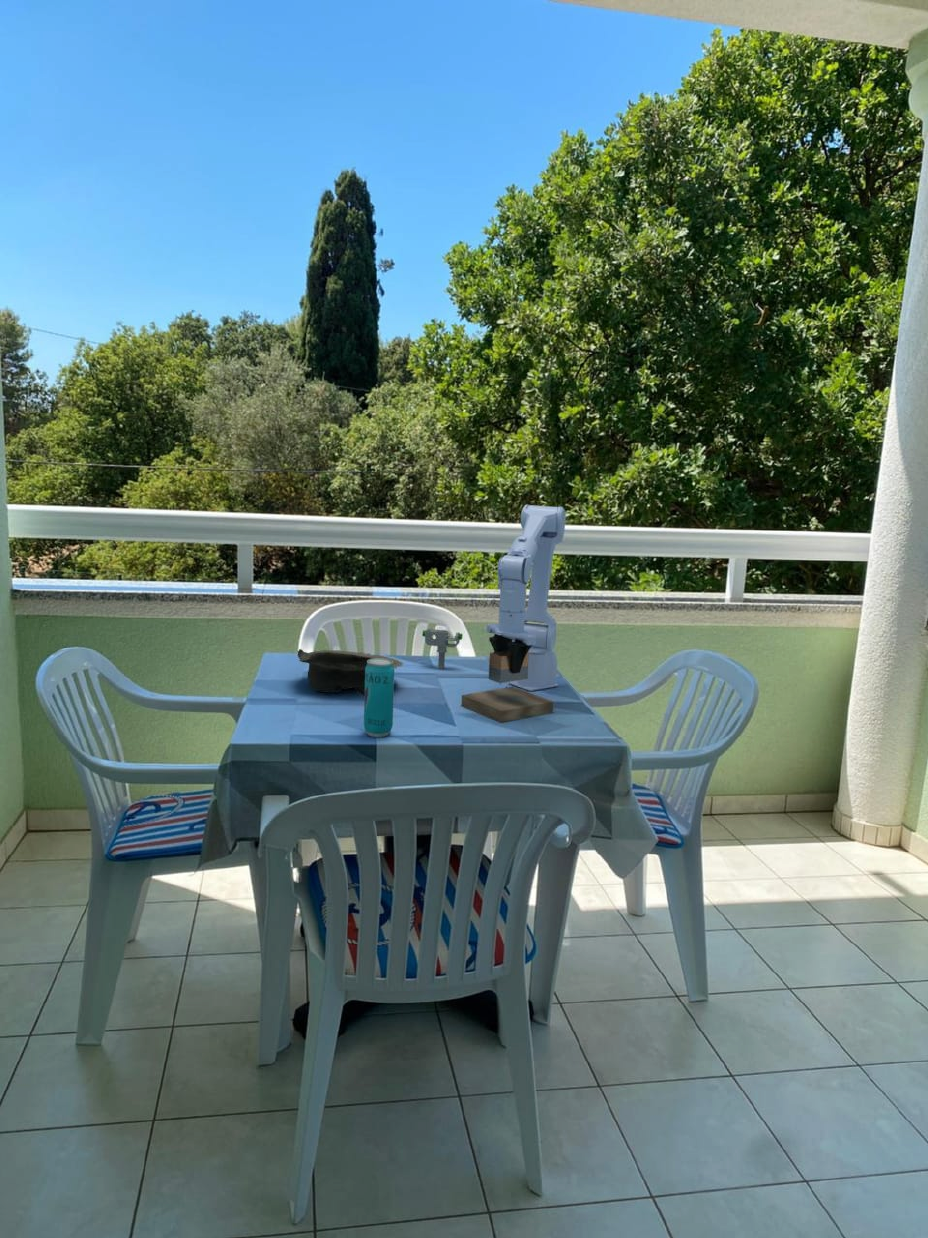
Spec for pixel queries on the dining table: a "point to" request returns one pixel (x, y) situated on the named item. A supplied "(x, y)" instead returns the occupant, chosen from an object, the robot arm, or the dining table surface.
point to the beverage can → (378, 697)
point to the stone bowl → (338, 669)
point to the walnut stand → (507, 704)
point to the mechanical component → (441, 642)
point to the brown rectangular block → (505, 668)
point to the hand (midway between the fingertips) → (508, 670)
